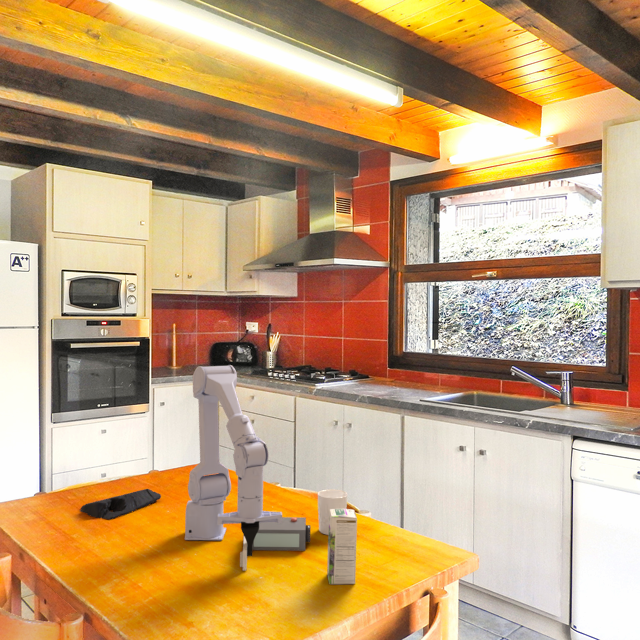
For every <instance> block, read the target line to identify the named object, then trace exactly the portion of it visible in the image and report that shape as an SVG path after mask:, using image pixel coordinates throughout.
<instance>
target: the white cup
mask: <svg viewBox="0 0 640 640" xmlns="http://www.w3.org/2000/svg"><path fill="white" fill-rule="evenodd" d="M347 506H348V493H347V491H345V490H340V489H329V488H328V489H324V490H323V489H322V490H320V491H318V492H317V512H318V531H319V532H320V533H321V534H323V535H326V536H329V511H330V509H348V508H347Z"/></svg>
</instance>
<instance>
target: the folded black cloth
mask: <svg viewBox="0 0 640 640" xmlns="http://www.w3.org/2000/svg"><path fill="white" fill-rule="evenodd" d="M161 497H162V494H160V493H158V492H156V491H153V490H152V489H150V488H144V489H140V490H137V491H133V492H129V493H125V494H121V495H116V496H112V497H109V498H108V497H107V498H104V499H101V500H96V501H93V502H88V503H86V504H84V505H82V506H81V508H80V510H79V512H81V513H84V514H87V516H90V517H94V518H96V519H102V520H104V519H106V520H111V519H112V520H114V519H116V518H119V517H122V516H125V514H126V515H127V513H128V514H130V513H129V512H131V513H133V512H135V511H137V510H139V509H138V508H140V509H142V508H141V507H143V508H145V507H147V506H150V505H151V503H152V504H153V503H156V502H157V501H158V500H160V499H161ZM149 504H150V505H149ZM136 509H137V510H136ZM132 511H133V512H132ZM118 516H119V517H118Z"/></svg>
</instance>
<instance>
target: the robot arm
mask: <svg viewBox="0 0 640 640" xmlns="http://www.w3.org/2000/svg"><path fill="white" fill-rule="evenodd" d="M237 384H238V374H237V371H236V368H235V367H234V366H233V365H231V364H228V365H215V366H214V365H212V366H211V365H210V366H202V365H199V366H197V367H196V368H195V370H194V372H193V375H192V393H193V394H192V395H193V398H195V399H197V400H198V429H199V433H198V434H199V463H198V464H197V465H196V466H194V468H192V469H191V470H190V472H189V481H188V483H187V492H188V496H189V499H190V500H188V501H187V503H186V507H185V529H184V530H185V531H184V534H185V535H184V540H185V541H222V540H224V536H225V535H226V531H227V527H224V525H225V524H227V525H229V524H230V525H231V524H232V525H233V524H240V530H241V532H242V534H243V535H244V536H245V539H246V542H247V557H253V550H252V544H253V541H254V539H255V536H256V534H257V532H258V530H259V523H266V522H277V523H282V517H283V512H282V511H268V510H267V511H266V510H263V508H264V506H263V505H264V503H263V502H264V467H265V466H266V465H267V464H268V460H269V450H268V447H267V444H266V442H265V441H264V440H262V438H261V437H259V436H257V434H256V431H255V429H254V427H253V424H252V422H251V420H250V417H249V416H248V415H246V414H243V411H242V408H241V404H240V401H239V399H238V394H237V391H236V388H237ZM219 403H220V405H221V407H222V409H223V411H224V413H225V415H226V417H227V419H228V421H227V423H226V425H225V426H226V429H227V432H228V434H229V437H230V440H231V443H232V446H233V448H234V451H233V454H232V456H233V463H234V465H235V474H236V476H237V511H231V512H226V513H224V501H226V500H227V497H228V496H229V495H230V493H231V490H232V483H231V478H230V472H229V468H228V467H226V466H225V465H224V464H222V463H221V462H220V436H219V435H220V434H219V433H220V431H219V429H220V428H219Z"/></svg>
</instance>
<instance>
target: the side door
mask: <svg viewBox="0 0 640 640" xmlns="http://www.w3.org/2000/svg"><path fill="white" fill-rule="evenodd" d="M242 537H243V540H242V541H243V542H242V543H243V545H242V546H243V547H242V551H240V553H239V567H240V568H242V571H247V563H248V556H247V542H246V539H245V536H244V534H243V536H242Z"/></svg>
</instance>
